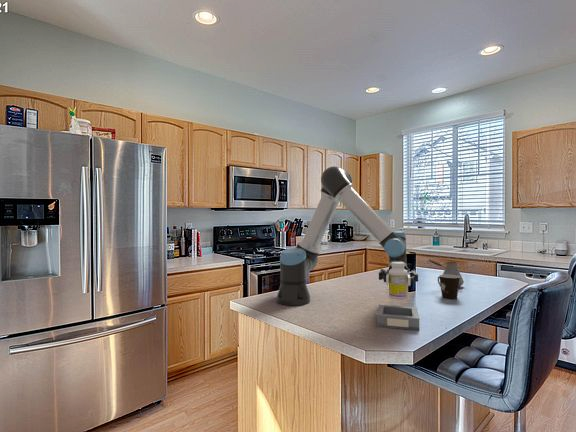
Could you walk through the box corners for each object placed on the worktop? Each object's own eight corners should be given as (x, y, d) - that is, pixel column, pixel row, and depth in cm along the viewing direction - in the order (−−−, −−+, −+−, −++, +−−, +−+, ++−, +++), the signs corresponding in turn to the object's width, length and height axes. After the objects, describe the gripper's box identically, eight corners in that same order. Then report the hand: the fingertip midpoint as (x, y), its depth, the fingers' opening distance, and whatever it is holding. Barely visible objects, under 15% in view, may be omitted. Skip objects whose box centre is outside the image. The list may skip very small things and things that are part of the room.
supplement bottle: (393, 294, 128) (392, 260, 128) (410, 297, 123) (410, 262, 123) (386, 298, 122) (385, 262, 122) (404, 301, 118) (403, 264, 118)
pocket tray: (376, 326, 118) (376, 315, 118) (378, 314, 132) (378, 304, 132) (419, 330, 114) (419, 318, 114) (417, 318, 128) (416, 307, 128)
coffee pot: (451, 283, 188) (451, 256, 188) (468, 287, 178) (468, 259, 178) (420, 286, 181) (420, 258, 181) (436, 291, 171) (436, 261, 170)
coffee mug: (462, 300, 152) (462, 278, 152) (441, 299, 154) (441, 277, 154) (454, 294, 164) (454, 273, 164) (436, 293, 165) (435, 273, 165)
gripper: (423, 280, 137) (428, 293, 115) (373, 278, 143) (369, 290, 121) (423, 262, 137) (428, 271, 115) (373, 260, 143) (369, 269, 121)
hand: (398, 281), depth 118 cm, fingers closed on supplement bottle, 7 cm apart
